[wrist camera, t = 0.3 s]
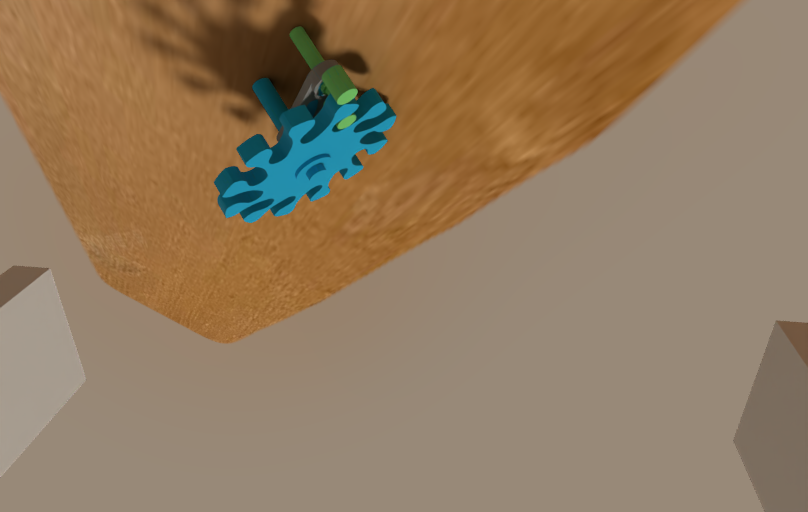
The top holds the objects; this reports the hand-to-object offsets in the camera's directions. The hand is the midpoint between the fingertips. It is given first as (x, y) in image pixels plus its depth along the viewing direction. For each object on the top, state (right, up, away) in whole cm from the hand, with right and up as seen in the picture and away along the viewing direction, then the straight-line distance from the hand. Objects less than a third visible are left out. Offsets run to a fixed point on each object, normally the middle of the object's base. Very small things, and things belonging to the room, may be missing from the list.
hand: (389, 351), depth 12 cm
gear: (-4, +10, +21) cm, 24 cm away
